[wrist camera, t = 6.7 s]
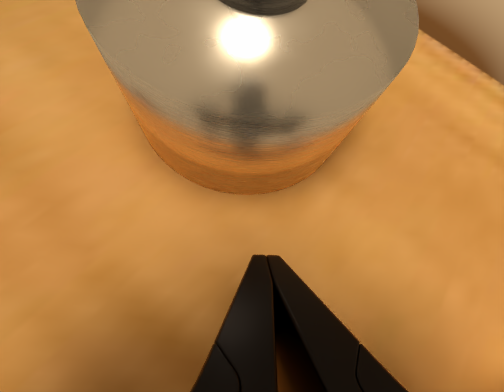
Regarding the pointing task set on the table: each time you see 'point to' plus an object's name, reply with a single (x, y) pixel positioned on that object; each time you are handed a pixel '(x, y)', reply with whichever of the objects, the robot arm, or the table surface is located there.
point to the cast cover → (250, 79)
